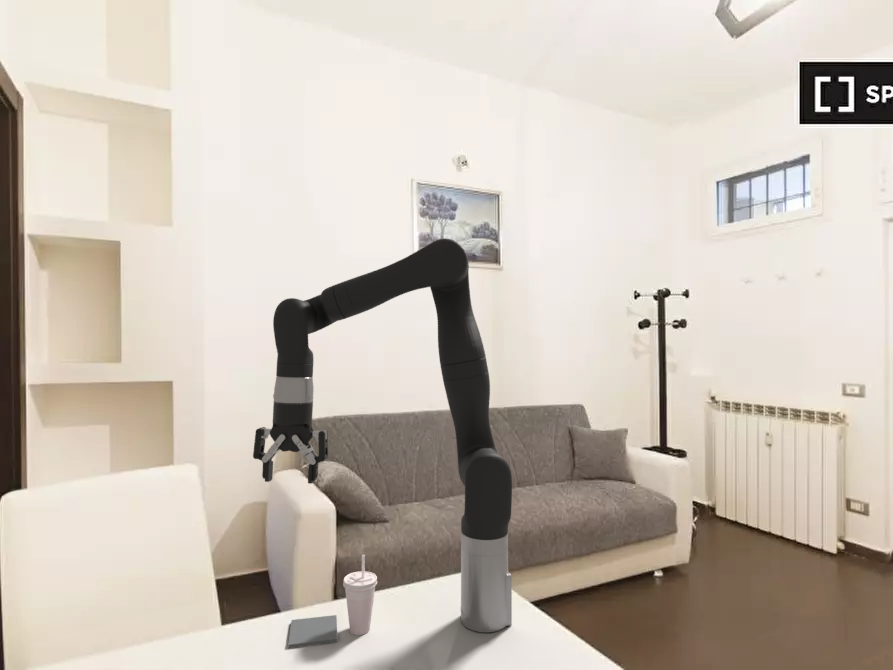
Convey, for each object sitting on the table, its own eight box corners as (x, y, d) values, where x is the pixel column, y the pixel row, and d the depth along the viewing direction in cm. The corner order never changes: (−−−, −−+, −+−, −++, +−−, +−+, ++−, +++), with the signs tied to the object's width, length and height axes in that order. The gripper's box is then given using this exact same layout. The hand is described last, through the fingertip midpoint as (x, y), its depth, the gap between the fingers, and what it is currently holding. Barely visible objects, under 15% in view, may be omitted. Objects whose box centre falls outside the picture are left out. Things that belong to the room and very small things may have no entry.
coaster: (336, 618, 101) (336, 614, 101) (337, 642, 93) (337, 638, 93) (291, 623, 99) (291, 620, 99) (288, 648, 91) (288, 644, 91)
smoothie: (370, 641, 93) (370, 563, 94) (337, 637, 94) (337, 560, 95) (381, 622, 99) (382, 549, 100) (350, 619, 101) (351, 547, 101)
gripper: (333, 399, 105) (330, 478, 105) (265, 396, 106) (261, 475, 105) (323, 402, 98) (320, 488, 97) (250, 399, 98) (246, 485, 98)
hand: (289, 481), depth 101 cm, fingers open, 8 cm apart
